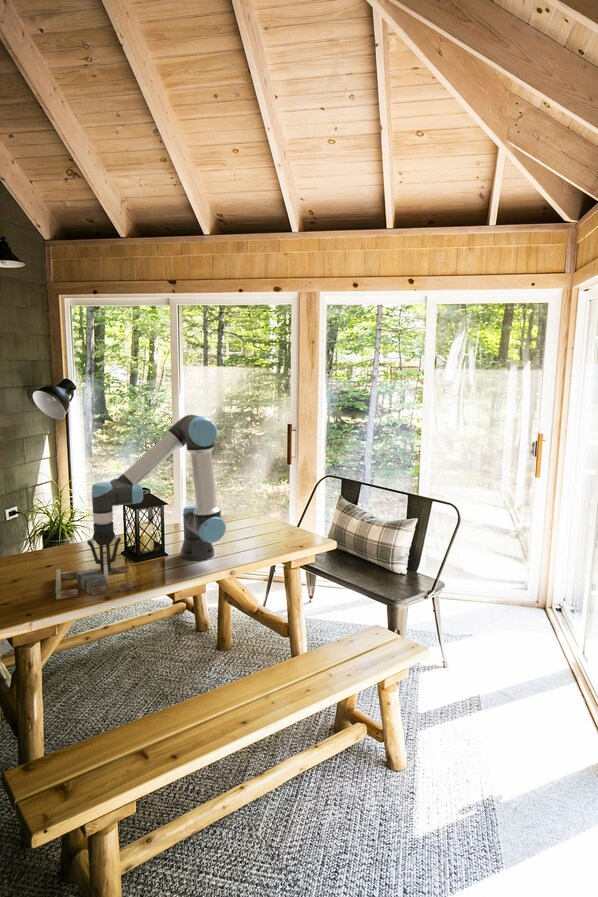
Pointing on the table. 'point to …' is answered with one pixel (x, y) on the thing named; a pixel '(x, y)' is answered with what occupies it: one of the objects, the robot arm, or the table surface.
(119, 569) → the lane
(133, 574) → the table surface
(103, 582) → the stone block
